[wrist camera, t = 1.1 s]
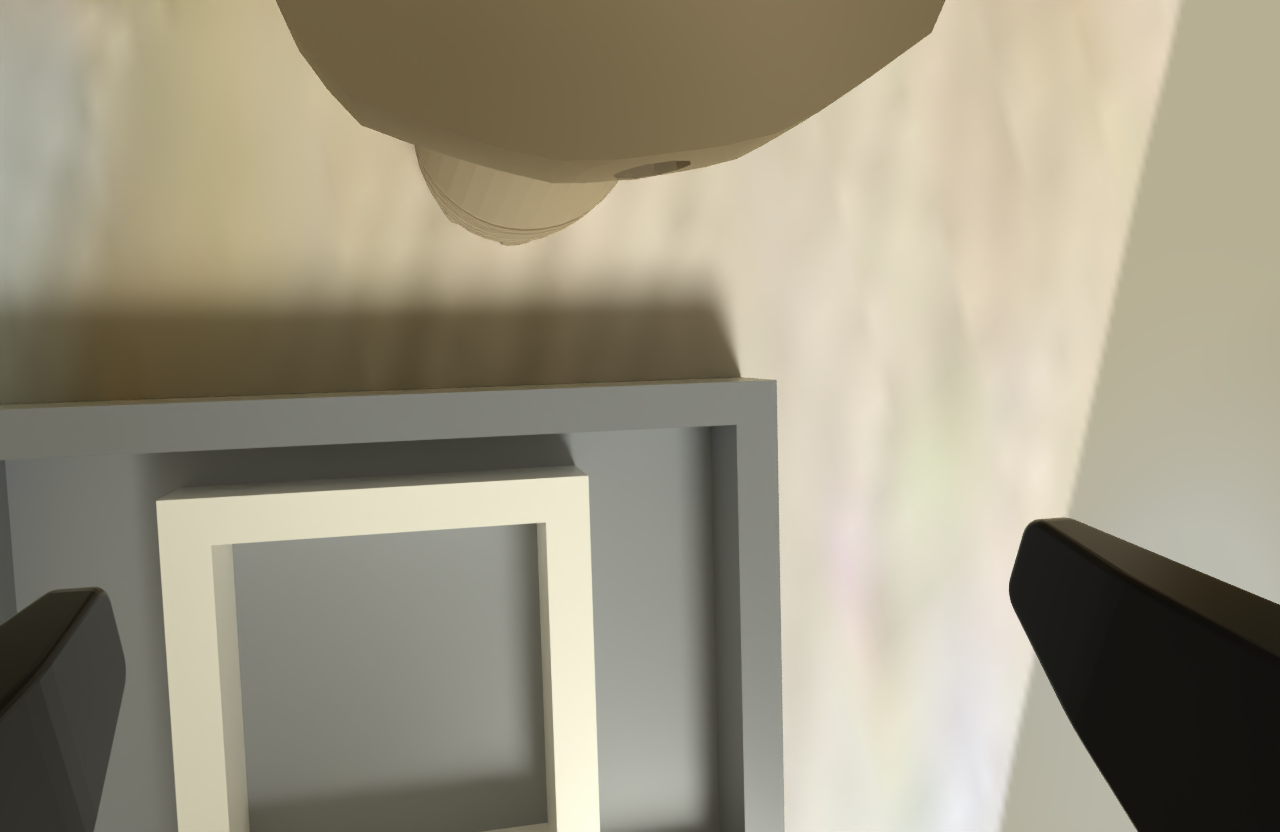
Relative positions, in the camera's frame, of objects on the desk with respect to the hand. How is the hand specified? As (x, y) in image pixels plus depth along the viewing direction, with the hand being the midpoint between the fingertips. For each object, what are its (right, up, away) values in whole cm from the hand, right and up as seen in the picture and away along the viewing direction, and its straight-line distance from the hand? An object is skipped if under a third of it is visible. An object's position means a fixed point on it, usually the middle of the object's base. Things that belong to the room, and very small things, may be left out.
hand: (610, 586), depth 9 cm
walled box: (-6, -5, +14) cm, 16 cm away
